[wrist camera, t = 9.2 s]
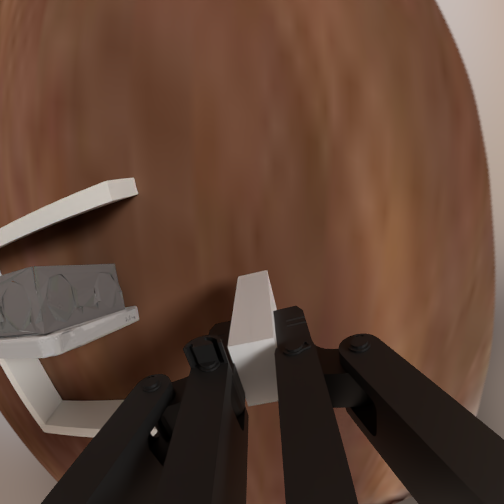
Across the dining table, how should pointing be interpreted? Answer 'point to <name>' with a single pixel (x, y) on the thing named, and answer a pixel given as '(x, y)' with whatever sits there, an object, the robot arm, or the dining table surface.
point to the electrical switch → (59, 309)
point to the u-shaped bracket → (30, 369)
